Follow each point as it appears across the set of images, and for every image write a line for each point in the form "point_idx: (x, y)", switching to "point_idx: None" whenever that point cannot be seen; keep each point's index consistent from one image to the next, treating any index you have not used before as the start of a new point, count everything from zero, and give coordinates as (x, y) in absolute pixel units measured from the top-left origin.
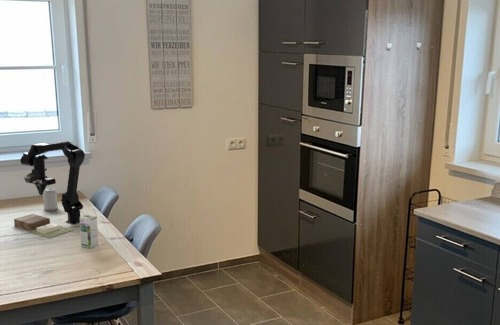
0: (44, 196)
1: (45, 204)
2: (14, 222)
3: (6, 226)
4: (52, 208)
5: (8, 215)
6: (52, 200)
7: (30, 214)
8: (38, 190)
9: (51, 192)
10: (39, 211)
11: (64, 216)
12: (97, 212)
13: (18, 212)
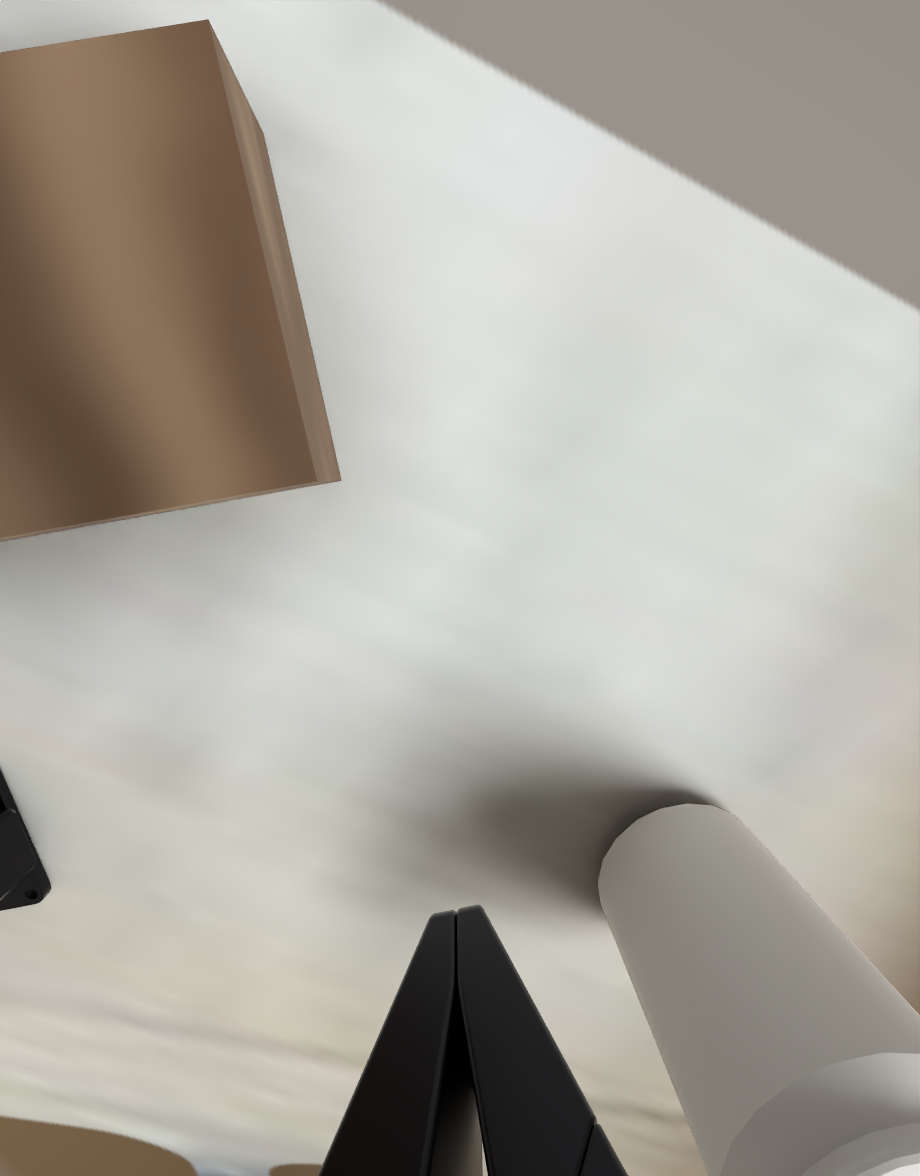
0: (800, 977)
1: (698, 856)
2: (233, 81)
3: (356, 29)
4: (605, 871)
5: (859, 348)
6: (650, 986)
7: (304, 432)
8: (509, 1073)
9: (746, 1171)
10: (690, 729)
11: (261, 848)
12: (163, 1138)
13: (870, 518)
